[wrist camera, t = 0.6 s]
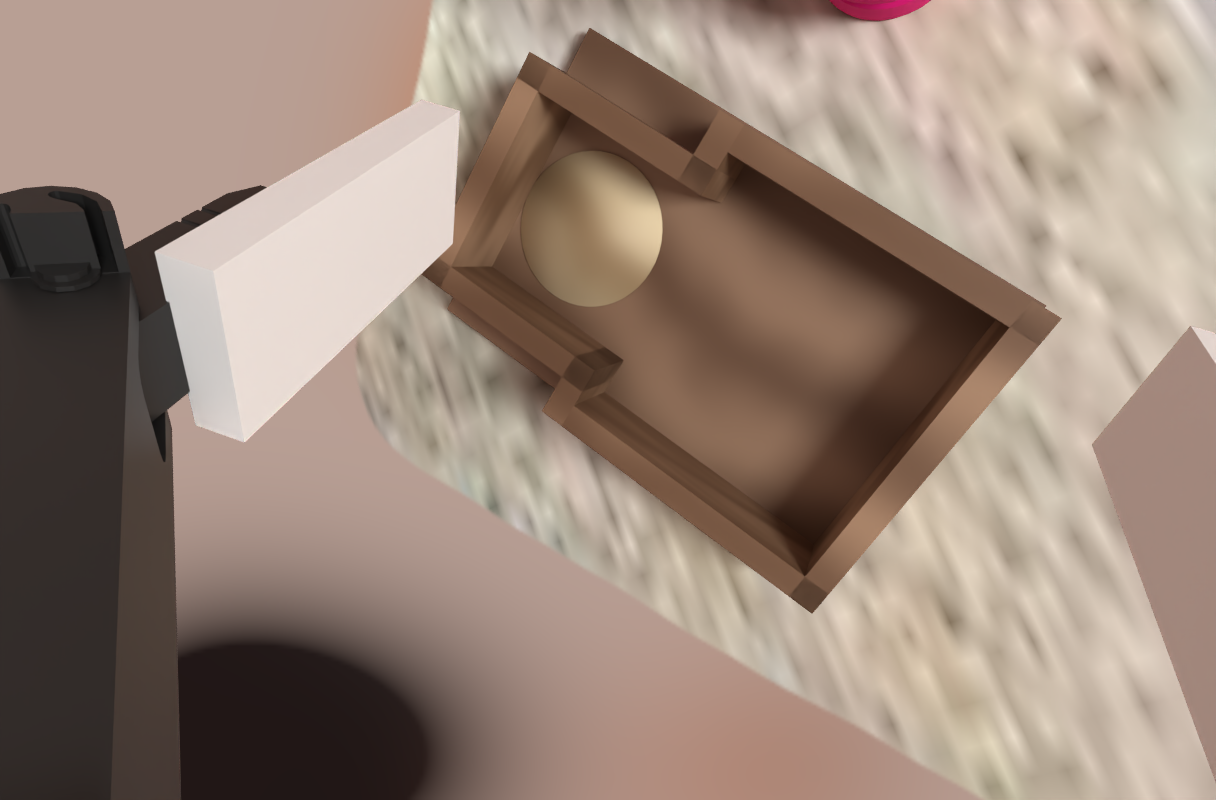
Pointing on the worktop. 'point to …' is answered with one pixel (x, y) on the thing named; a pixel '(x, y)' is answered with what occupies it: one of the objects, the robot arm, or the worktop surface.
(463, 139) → the worktop surface
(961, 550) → the worktop surface
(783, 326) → the keyhole cradle
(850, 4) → the pepper mill
